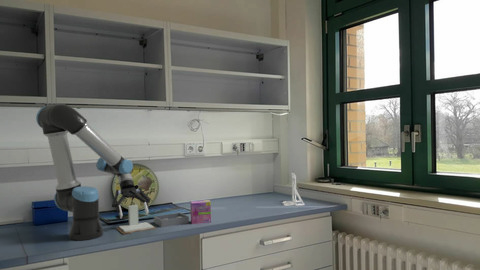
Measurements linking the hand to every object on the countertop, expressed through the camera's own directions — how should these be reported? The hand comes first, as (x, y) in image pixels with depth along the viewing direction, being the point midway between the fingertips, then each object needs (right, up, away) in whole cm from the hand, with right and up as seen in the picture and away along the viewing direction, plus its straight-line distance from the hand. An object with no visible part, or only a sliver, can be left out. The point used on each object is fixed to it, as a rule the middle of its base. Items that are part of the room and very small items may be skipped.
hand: (134, 215), depth 197 cm
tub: (+18, -6, +8) cm, 20 cm away
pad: (+1, -7, -2) cm, 7 cm away
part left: (+15, -6, +4) cm, 17 cm away
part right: (+22, -6, +8) cm, 24 cm away
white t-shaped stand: (+1, -6, -2) cm, 7 cm away
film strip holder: (+91, -5, +57) cm, 107 cm away
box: (+34, -6, +8) cm, 35 cm away
